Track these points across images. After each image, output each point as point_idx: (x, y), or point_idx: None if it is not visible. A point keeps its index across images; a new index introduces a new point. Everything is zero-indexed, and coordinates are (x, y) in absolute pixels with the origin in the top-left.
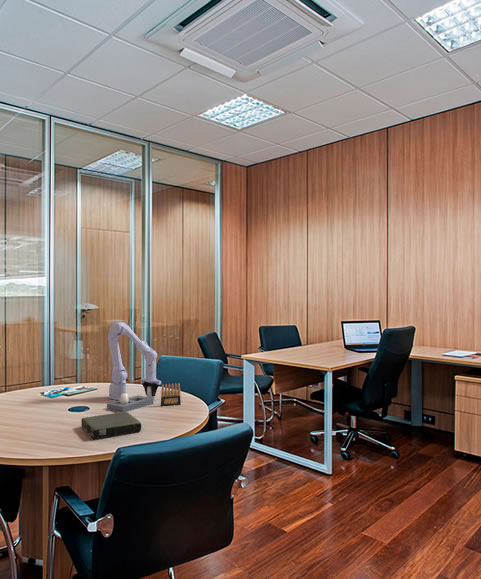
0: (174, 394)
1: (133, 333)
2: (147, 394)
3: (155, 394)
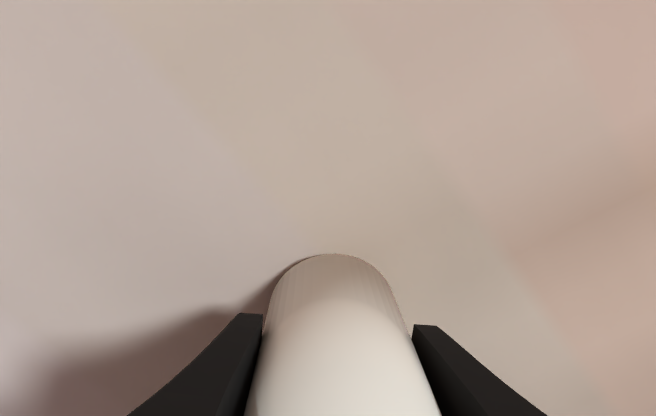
0: None
1: None
2: None
3: (453, 341)
